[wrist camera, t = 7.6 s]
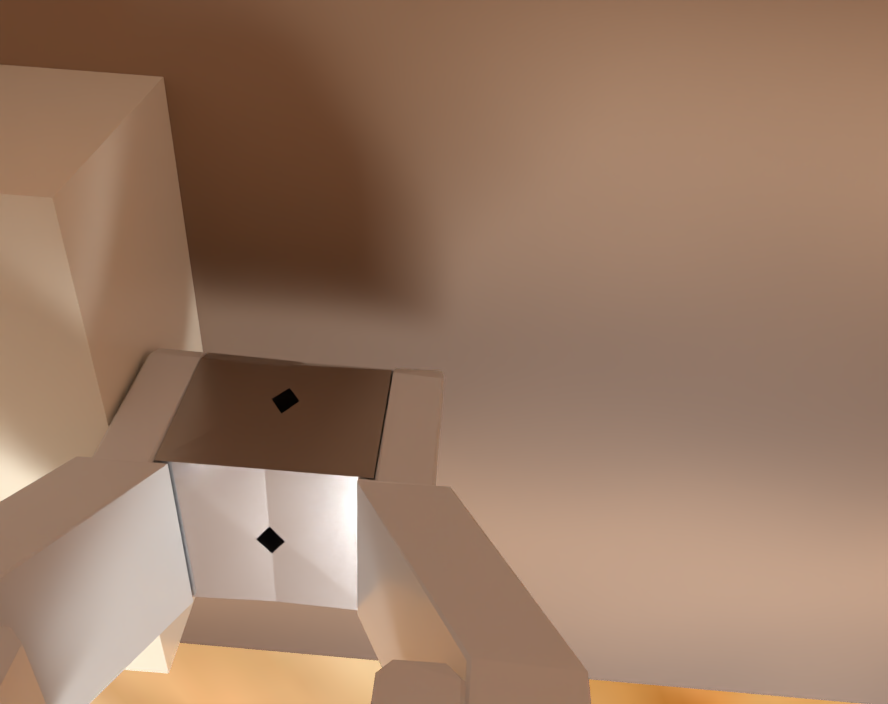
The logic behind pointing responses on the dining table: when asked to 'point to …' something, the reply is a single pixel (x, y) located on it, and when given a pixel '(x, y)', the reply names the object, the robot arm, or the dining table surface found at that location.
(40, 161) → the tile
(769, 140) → the plate
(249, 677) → the dining table surface
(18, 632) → the robot arm
